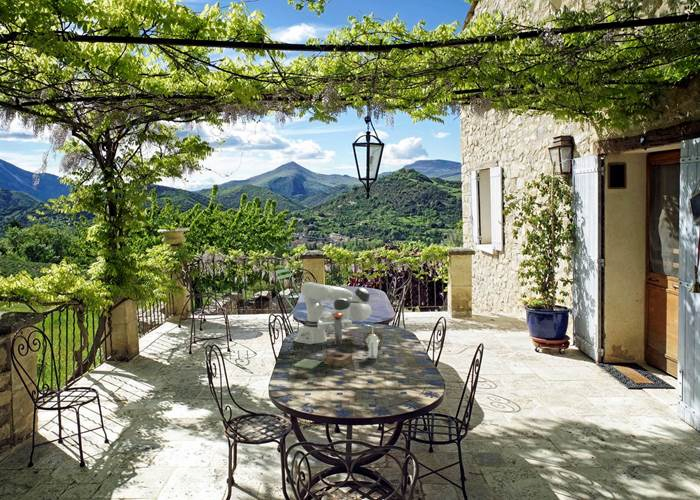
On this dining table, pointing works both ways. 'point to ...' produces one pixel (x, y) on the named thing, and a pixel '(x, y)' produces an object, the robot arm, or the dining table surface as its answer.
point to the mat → (307, 363)
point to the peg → (338, 327)
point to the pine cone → (379, 335)
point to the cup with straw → (372, 344)
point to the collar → (338, 359)
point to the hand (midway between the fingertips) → (338, 327)
